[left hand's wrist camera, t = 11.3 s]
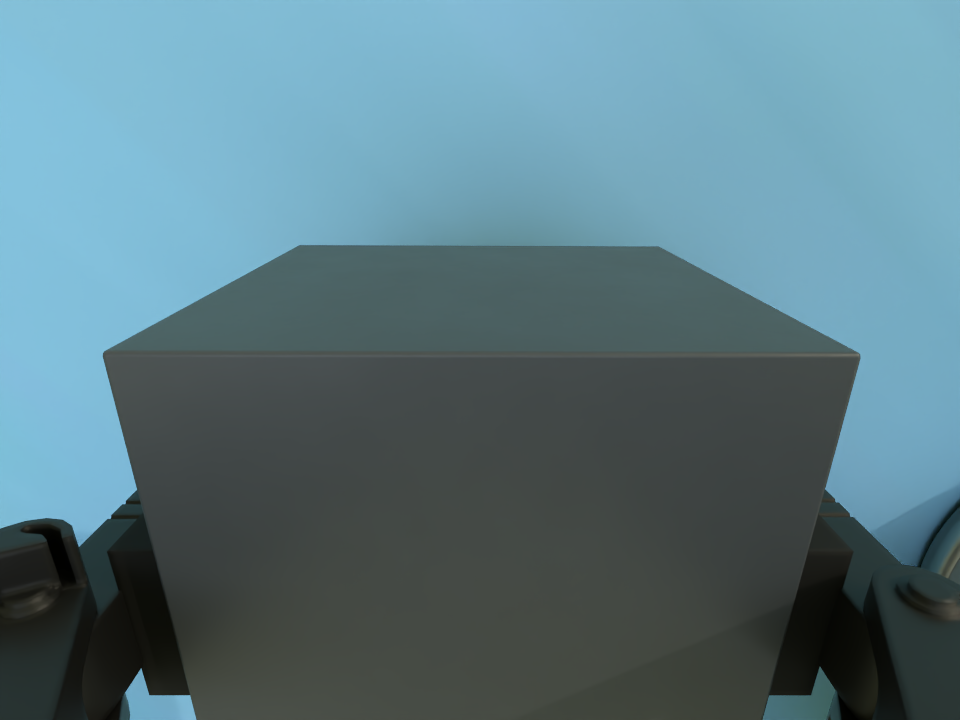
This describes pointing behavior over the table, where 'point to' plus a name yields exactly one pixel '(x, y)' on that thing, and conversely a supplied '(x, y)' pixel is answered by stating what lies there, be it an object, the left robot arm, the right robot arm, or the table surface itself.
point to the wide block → (480, 483)
